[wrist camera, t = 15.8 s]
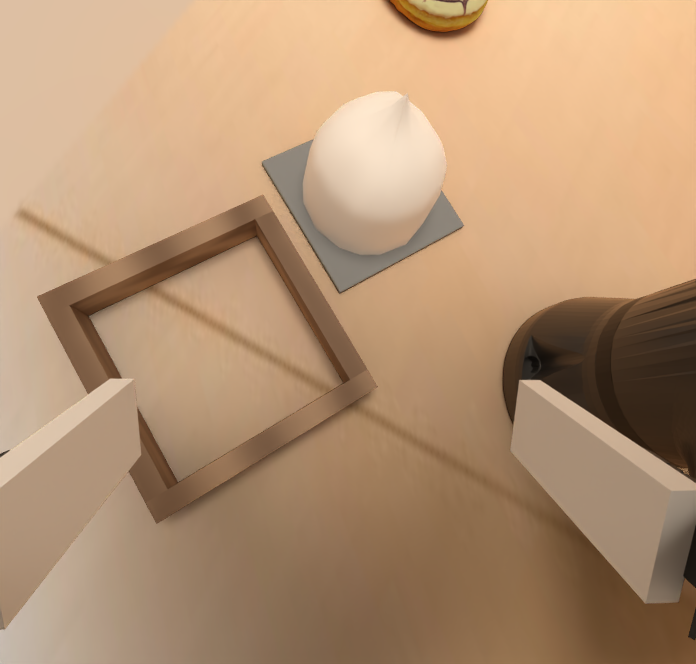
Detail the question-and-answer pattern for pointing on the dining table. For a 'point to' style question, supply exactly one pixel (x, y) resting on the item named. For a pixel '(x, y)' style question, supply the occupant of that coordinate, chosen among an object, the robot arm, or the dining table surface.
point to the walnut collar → (163, 262)
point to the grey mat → (336, 261)
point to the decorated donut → (441, 13)
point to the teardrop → (373, 173)
